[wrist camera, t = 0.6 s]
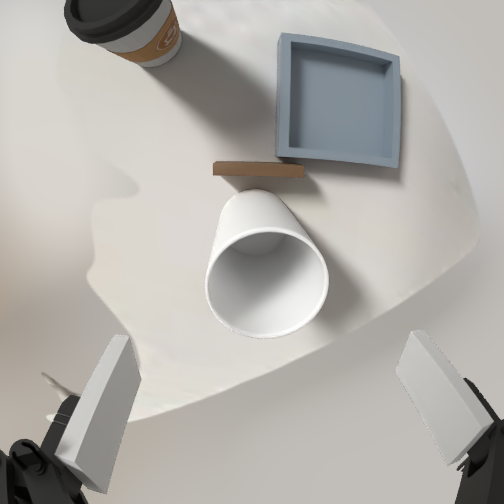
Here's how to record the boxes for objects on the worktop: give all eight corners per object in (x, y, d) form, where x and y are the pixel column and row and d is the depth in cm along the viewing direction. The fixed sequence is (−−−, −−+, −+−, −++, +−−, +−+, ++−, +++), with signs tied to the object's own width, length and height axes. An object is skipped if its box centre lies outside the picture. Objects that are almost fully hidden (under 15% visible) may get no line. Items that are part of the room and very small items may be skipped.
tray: (277, 41, 26) (281, 32, 23) (387, 61, 26) (399, 56, 24) (274, 155, 31) (278, 156, 28) (386, 165, 31) (398, 168, 28)
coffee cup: (171, 84, 27) (122, 42, 13) (112, 68, 25) (41, 33, 11) (203, 25, 24) (181, -45, 10) (143, 12, 23) (94, -47, 9)
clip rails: (216, 161, 31) (213, 163, 27) (296, 163, 31) (304, 166, 27) (217, 279, 36) (215, 295, 32) (288, 279, 36) (294, 295, 32)
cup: (303, 214, 33) (353, 271, 18) (263, 268, 35) (280, 355, 20) (245, 175, 31) (251, 201, 16) (206, 233, 33) (182, 304, 19)
